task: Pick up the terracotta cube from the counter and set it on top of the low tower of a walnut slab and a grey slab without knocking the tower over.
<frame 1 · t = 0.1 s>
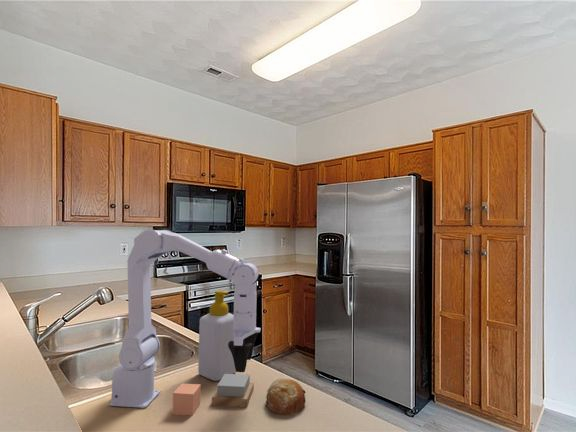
hand: (243, 365, 83), 10 cm above the table, tool pointing down, fingers open, 7 cm apart
walnut slab: (233, 399, 87), on the table, touching grey slab
soap bottle: (217, 374, 100), on the table
terracotta cube: (186, 409, 80), on the table
grey slab: (233, 389, 87), point 2 cm above the table, touching walnut slab
bread roll: (285, 405, 83), on the table
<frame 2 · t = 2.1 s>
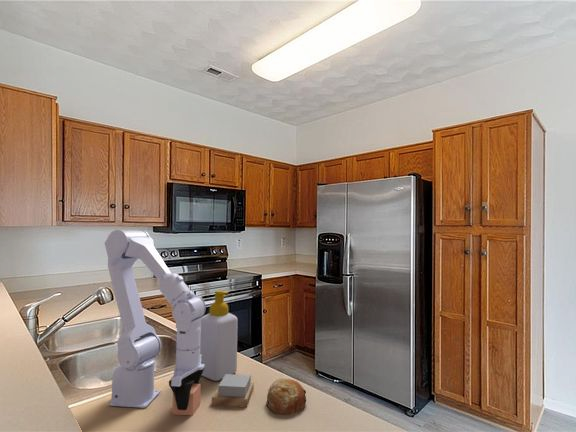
hand: (186, 403, 80), 1 cm above the table, tool pointing down, fingers closed on terracotta cube, 5 cm apart
terracotta cube: (186, 409, 80), on the table, touching gripper
everything else where it was.
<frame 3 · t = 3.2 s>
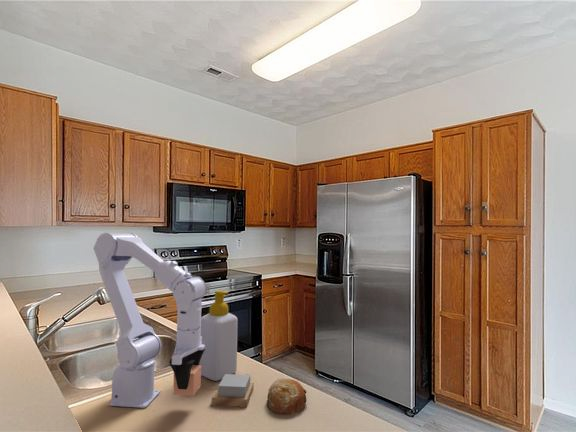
hand: (187, 383, 81), 6 cm above the table, tool pointing down, fingers closed on terracotta cube, 5 cm apart
walnut slab: (233, 399, 87), on the table
terracotta cube: (187, 389, 81), point 5 cm above the table, touching gripper
grey slab: (234, 389, 87), point 2 cm above the table
everything else where it was.
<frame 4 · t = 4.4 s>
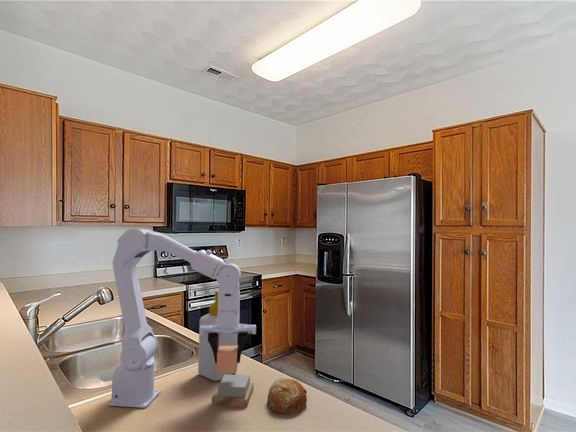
hand: (227, 361, 86), 9 cm above the table, tool pointing down, fingers closed on terracotta cube, 5 cm apart
walnut slab: (233, 399, 87), on the table, touching grey slab
terracotta cube: (227, 368, 86), point 8 cm above the table, touching gripper
grey slab: (234, 390, 86), point 2 cm above the table, touching walnut slab
everything else where it was.
when the fingers open (7 cm above the table, at t = 5.6 s): terracotta cube drops 1 cm, point 4 cm above the table.
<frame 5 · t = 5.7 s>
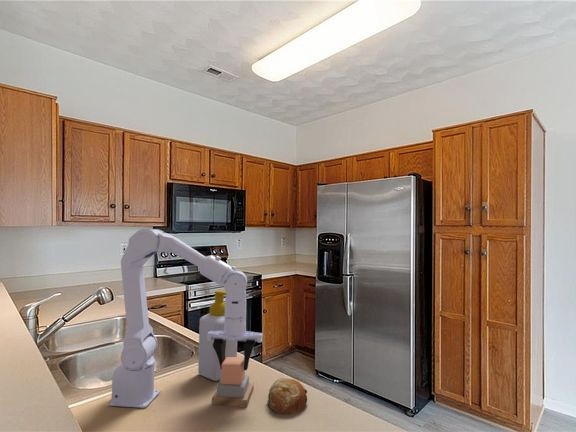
hand: (234, 368, 87), 7 cm above the table, tool pointing down, fingers open, 6 cm apart
walnut slab: (233, 400, 87), on the table
terracotta cube: (233, 380, 87), point 4 cm above the table
grey slab: (233, 390, 87), point 2 cm above the table
everything else where it was.
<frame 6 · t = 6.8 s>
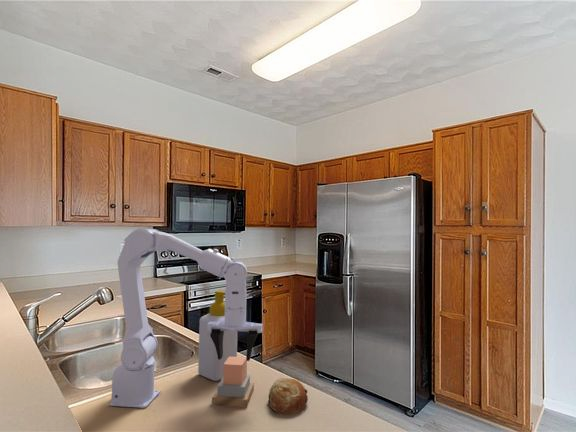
hand: (234, 358, 87), 10 cm above the table, tool pointing down, fingers open, 7 cm apart
walnut slab: (233, 399, 86), on the table, touching grey slab
terracotta cube: (235, 379, 87), point 4 cm above the table, touching grey slab
grey slab: (234, 390, 87), point 2 cm above the table, touching terracotta cube, walnut slab
everything else where it was.
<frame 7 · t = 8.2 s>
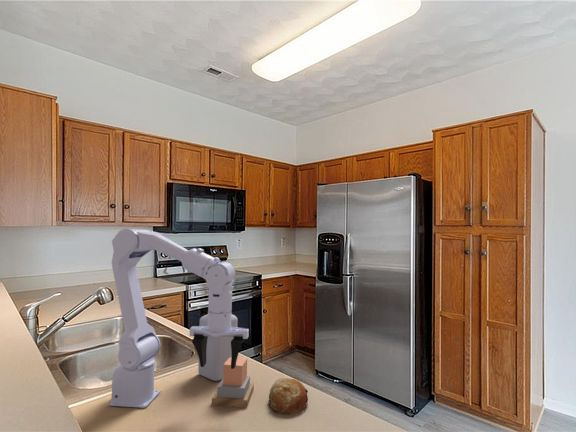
hand: (218, 366, 81), 10 cm above the table, tool pointing down, fingers open, 7 cm apart
nothing on the table moved.
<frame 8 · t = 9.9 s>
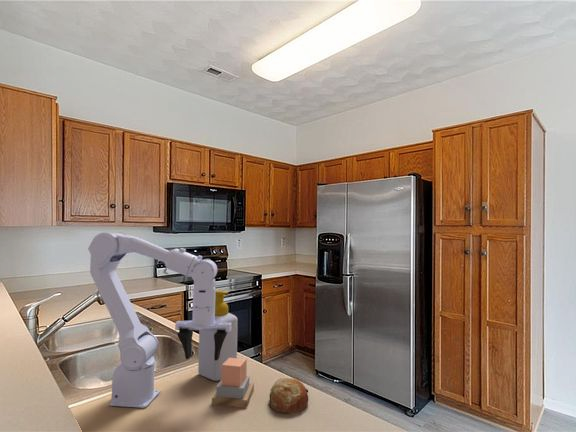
hand: (202, 358, 86), 10 cm above the table, tool pointing down, fingers open, 7 cm apart
nothing on the table moved.
at the end: terracotta cube 0.4 cm off-centre on the walnut slab, point 5.1 cm above the walnut slab's base; grey slab 0.2 cm off-centre on the walnut slab, point 2.5 cm above the walnut slab's base; terracotta cube tilted 1° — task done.
